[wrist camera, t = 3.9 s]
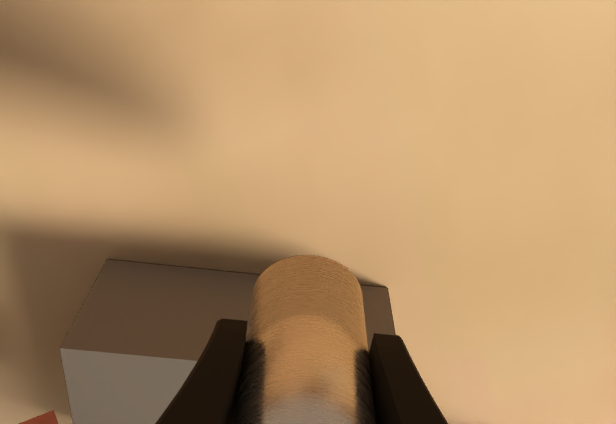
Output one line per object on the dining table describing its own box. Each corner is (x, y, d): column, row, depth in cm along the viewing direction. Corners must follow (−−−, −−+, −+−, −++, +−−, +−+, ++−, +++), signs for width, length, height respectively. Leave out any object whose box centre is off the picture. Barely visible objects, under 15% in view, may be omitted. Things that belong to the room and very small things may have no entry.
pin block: (387, 287, 24) (403, 380, 19) (344, 454, 30) (349, 550, 26) (106, 259, 23) (59, 348, 19) (124, 435, 29) (92, 530, 25)
